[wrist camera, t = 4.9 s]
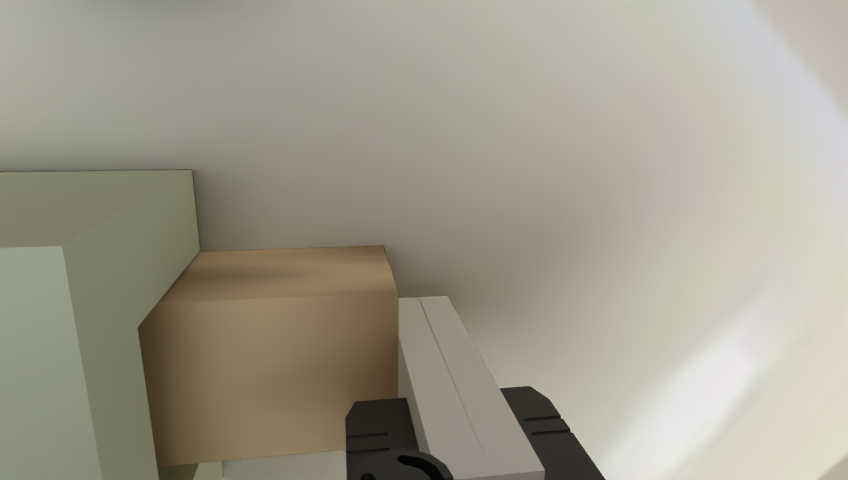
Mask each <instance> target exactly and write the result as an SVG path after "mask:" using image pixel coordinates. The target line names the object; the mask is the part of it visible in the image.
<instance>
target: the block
mask: <svg viewBox="0 0 848 480" xmlns="http://www.w3.org/2000/svg"><path fill="white" fill-rule="evenodd" d="M199 251H200V245H199V235H198V225H197V216H196V206H195V196H194V186H193V177H192V170H136V171H50V172H0V480H222V478H223V468H222V461H217V462H206V463H195V464H184V465H173V466H162V467H157V463H156V455H155V448H154V441H153V434H152V427H151V420H150V413H149V406H148V399H147V391H146V384H145V377H144V370H143V363H142V356H141V349H140V342H139V335H138V326H139V325H140V324H141V322H142V321H143V320H144V319H145V317H146V316H147V315H148V314H149V313H150V311H151V310H152V309H153V308H154V306H155V305H156V304H157V303H158V301H159V300H160V299H161V298H162V296H163V295H164V294H165V293H166V292H167V290H168V289H169V288H170V287H171V285H172V284H173V283H174V282H175V280H176V279H177V278H178V277H179V276H180V274H181V273H182V272H183V271H184V269H185V268H186V267H187V266H188V264H189V263H190V262H191V261H192V259H193V258H194V257H195V256H196V255H197V253H198V252H199Z"/></svg>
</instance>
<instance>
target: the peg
mask: <svg viewBox="0 0 848 480" xmlns="http://www.w3.org/2000/svg"><path fill="white" fill-rule="evenodd" d="M398 334H399V292H398V289H397V286H396V283H395V280H394V277H393V274H392V271H391V268H390V265H389V262H388V259H387V256H386V253H385V250H384V247H383V245H382V246H352V247H322V248H291V249H261V250H230V251H200V252H198V253H197V255H196V256H195V257H194V258H193V259H192V261H191V262H190V263H189V264H188V266H187V267H186V268H185V269H184V271H183V272H182V273H181V274H180V276H179V277H178V278H177V279H176V280H175V282H174V283H173V284H172V285H171V287H170V288H169V289H168V290H167V292H166V293H165V294H164V295H163V296H162V298H161V299H160V300H159V301H158V303H157V304H156V305H155V306H154V308H153V309H152V310H151V311H150V313H149V314H148V315H147V316H146V317H145V319H144V320H143V321H142V322H141V324H140V325H139V326H138V335H139V342H140V349H141V356H142V363H143V370H144V377H145V384H146V391H147V399H148V406H149V413H150V420H151V427H152V434H153V441H154V448H155V455H156V463H157V467H162V466H173V465H184V464H195V463H206V462H217V461H228V460H239V459H249V458H260V457H271V456H282V455H293V454H304V453H315V452H326V451H337V450H346V432H345V417H346V415H347V414H348V412H349V411H350V409H351V408H352V406H353V404H354V403H355V401H367V400H380V399H393V398H398Z"/></svg>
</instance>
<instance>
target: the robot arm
mask: <svg viewBox="0 0 848 480" xmlns="http://www.w3.org/2000/svg"><path fill="white" fill-rule="evenodd" d="M345 432H346V467H347V480H605V478H604V477H603V476H602V474H601V473H600V471H599V470H598V468H597V467H596V466H595V464H594V463H593V461H592V460H591V458H590V457H589V456H588V454H587V453H586V451H585V450H584V448H583V447H582V446H581V444H580V443H579V441H578V440H577V438H576V437H575V436H574V434H573V433H571V432H570V428H569V427H568V426H567V424H566V423H565V421H564V420H563V419H561V416H560V414H559V413H558V411H557V410H556V408H555V407H554V406H553V404H552V403H551V401H550V400H549V399H548V398H547V397H545V396H544V395H542V394H541V393H539V392H538V391H536V390H535V389H533V388H532V387H530V386H525V387H512V388H499V387H498V385H497V383H496V382H495V380H494V378H493V376H492V374H491V373H490V371H489V369H488V367H487V366H486V364H485V362H484V360H483V358H482V357H481V355H480V353H479V351H478V349H477V348H476V346H475V344H474V342H473V340H472V339H471V337H470V335H469V333H468V332H467V330H466V328H465V326H464V324H463V323H462V321H461V319H460V317H459V315H458V314H457V312H456V310H455V308H454V307H453V305H452V303H451V301H450V299H449V298H448V296H430V297H409V298H399V334H398V398H393V399H380V400H367V401H355V403H354V404H353V406H352V408H351V409H350V411H349V412H348V414H347V415H346V417H345Z"/></svg>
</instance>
